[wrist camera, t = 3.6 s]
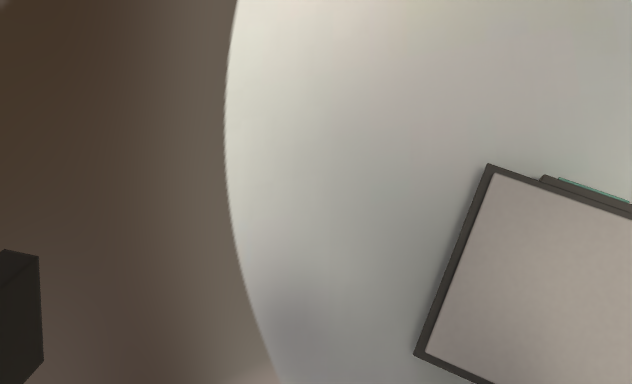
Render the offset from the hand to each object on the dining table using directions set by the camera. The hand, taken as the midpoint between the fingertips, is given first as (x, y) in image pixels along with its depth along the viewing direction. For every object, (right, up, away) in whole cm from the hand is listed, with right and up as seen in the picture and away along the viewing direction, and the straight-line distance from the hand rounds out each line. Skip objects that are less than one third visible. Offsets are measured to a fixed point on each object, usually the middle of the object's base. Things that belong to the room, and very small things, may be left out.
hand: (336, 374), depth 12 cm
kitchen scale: (+12, -2, +20) cm, 23 cm away
